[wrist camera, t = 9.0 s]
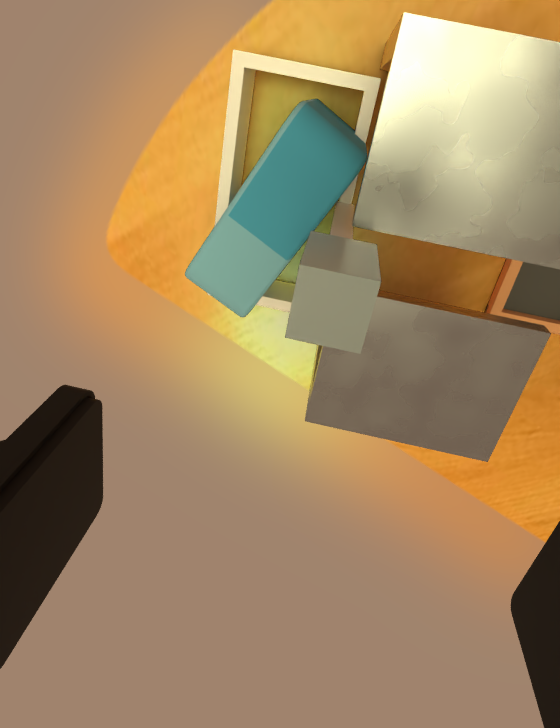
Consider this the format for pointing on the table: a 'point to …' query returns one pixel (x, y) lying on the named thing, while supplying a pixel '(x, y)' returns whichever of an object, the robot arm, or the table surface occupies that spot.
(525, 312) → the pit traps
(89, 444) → the robot arm
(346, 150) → the data package
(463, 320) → the tunnel
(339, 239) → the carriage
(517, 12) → the table surface
